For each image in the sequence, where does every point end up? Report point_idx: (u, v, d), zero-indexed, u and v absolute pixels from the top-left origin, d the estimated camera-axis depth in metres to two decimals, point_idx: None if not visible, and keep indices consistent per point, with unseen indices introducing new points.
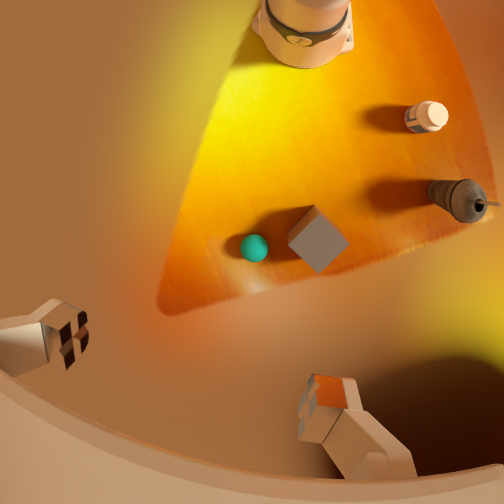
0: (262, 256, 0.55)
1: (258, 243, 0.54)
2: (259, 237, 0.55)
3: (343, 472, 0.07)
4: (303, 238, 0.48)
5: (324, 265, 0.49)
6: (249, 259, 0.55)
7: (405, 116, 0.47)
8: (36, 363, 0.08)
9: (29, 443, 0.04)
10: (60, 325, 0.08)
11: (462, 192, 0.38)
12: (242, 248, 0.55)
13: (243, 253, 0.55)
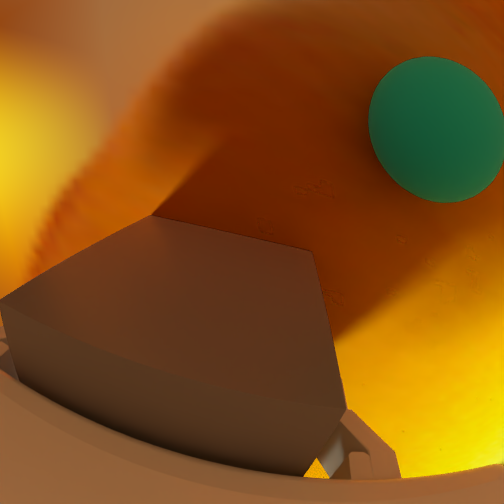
0: (408, 113, 0.07)
1: (464, 184, 0.07)
2: (450, 201, 0.08)
3: (328, 471, 0.07)
4: None
5: (22, 367, 0.05)
6: (458, 70, 0.06)
7: None
8: None
9: (29, 443, 0.04)
10: None
11: None
12: (503, 117, 0.06)
13: (492, 93, 0.06)
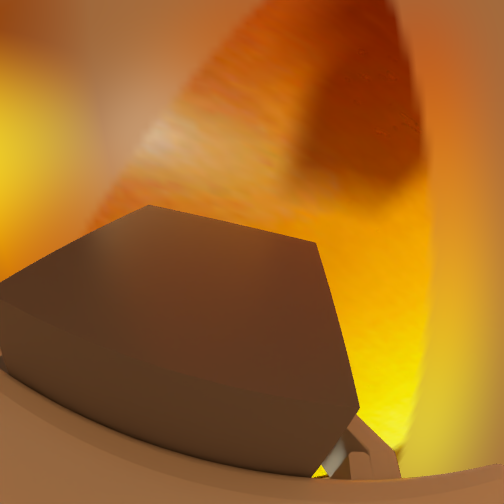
0: None
1: None
2: None
3: (328, 471, 0.07)
4: None
5: (12, 362, 0.05)
6: None
7: None
8: None
9: (29, 443, 0.04)
10: None
11: None
12: None
13: None
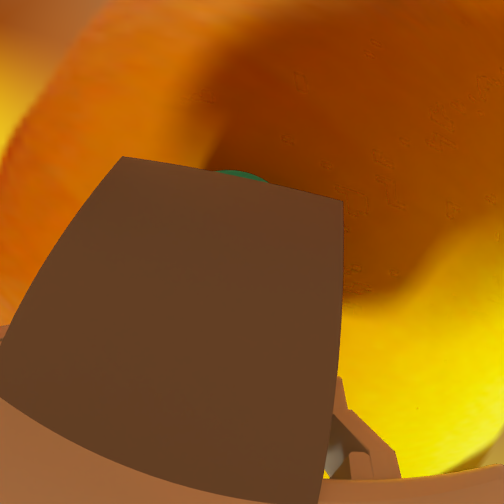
0: None
1: None
2: (264, 181, 0.10)
3: (328, 471, 0.07)
4: None
5: None
6: None
7: None
8: None
9: (29, 443, 0.04)
10: None
11: None
12: None
13: None
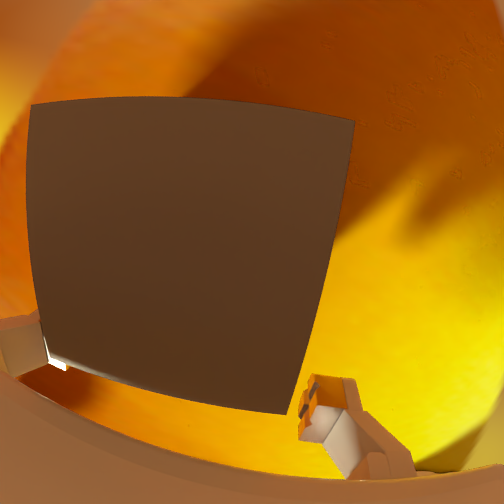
0: None
1: None
2: None
3: (343, 472, 0.07)
4: (279, 244, 0.06)
5: (35, 175, 0.06)
6: None
7: None
8: (36, 363, 0.08)
9: (29, 443, 0.04)
10: None
11: None
12: None
13: None
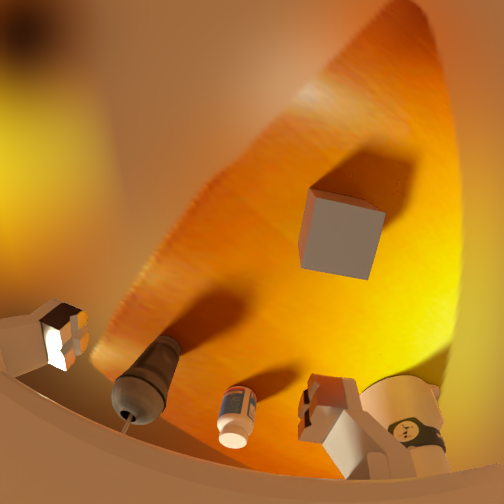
0: None
1: None
2: None
3: (343, 472, 0.07)
4: (370, 235, 0.28)
5: (316, 215, 0.28)
6: None
7: (254, 396, 0.45)
8: (36, 363, 0.08)
9: (29, 443, 0.04)
10: (60, 325, 0.08)
11: (155, 411, 0.32)
12: None
13: None
